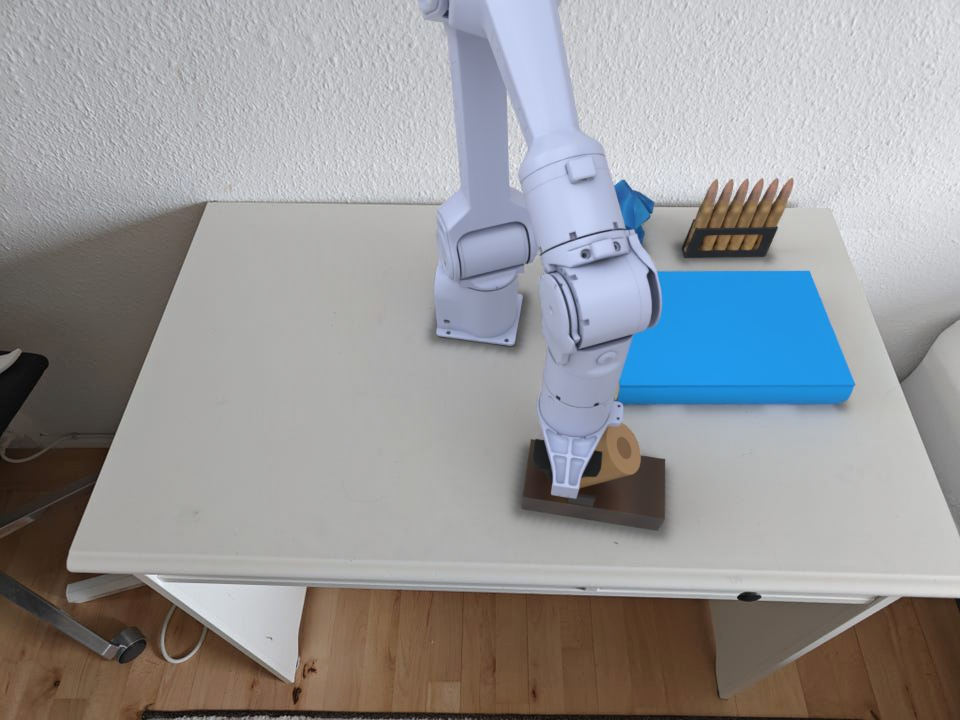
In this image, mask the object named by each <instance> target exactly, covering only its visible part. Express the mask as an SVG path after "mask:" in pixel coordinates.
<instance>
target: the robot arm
mask: <svg viewBox="0 0 960 720" xmlns="http://www.w3.org/2000/svg"><path fill="white" fill-rule="evenodd" d="M562 1H563V0H418V1H417V2H418V6H419V9H420V11H421V14H422V18H423V20H425V21H430V22H436V23H442V25H443V29H444V32H445V34H446V37H447V47H448V57H449V59H448V60H449V68H450V80H451V90H452V91H451V92H452V103H453V114H454V125H455V136H456V137H455V138H456V149H457V159H458V171H459V181H460V182H459V183H460V187H459V188H458V190H456V191H455V192H454V193H453V194H452V195H451V196H449V197H448V198H447V199H446V200H445V201H444V202H443V203H441V204H440V206H439V207H438V208H437V209H436V211H437V213H436V230H435V240H436V246H437V251H438V257H439V259H438V261H437V264H436V265H437V266H436V269H435V276H434V287H433V299H434V308H435V316H436V330H435V334H436V336H437V337H441V338H448V339H455V340H463V341H468V342H469V341H470V342H478V343H485V344H492V345H493V344H494V345H500V346H507V347H513V346H515V344H516V340H517V334H518V328H519V322H520V316H521V311H522V305H523V300H524V296H523V294H522V293H518V290H519V289H518V288H519V276H520V274H523V273H525V265H530V264H532V263H533V262H534V261H535V259H536V257H537V255H538V253H539V256H540V260H541V265H542V268H543V271H544V274H542V276H540V275H539V276H538V296H539V301H540V307H541V314H542V315H541V316H542V319H541V329H542V336H543V339H544V341H545V343H546V352H545V359H544V367H543V373H542V381H541V390H540V392H539V394H538V397H537V401H536V415H537V419H538V422H539V426H540V430H541V433H542V437H543V439H541V438H534V440H535V445H534V452H533V463H534V466H535V468H537V469H540V470H543V471H544V472H545V473H546V475H547V478H548V480H549V482H550V483H551V484H552V489H551V495H555V496H561V497H567V498H574V499H576V498H577V494H578V491H579V486H580V480H581V478H583V477H596V476H597V475H598V474H599V472H600V470H601V465H602V452H601V451H595V449H596V447H597V445H598V443H599V441H600V439H601V437H602V435H603V434H604V432H605V430H606V428H607V427H609V426H614V427H618V426H620V425H621V423H623V421H624V409H625V408H624V404H622V403H621V402H618V401H614V396H615V393H616V390H617V386H618V383H619V380H620V377H621V373H622V370H623V367H624V364H625V360H626V358H627V355H628V351H629V348H630V345H631V342H632V338H633V335H634V334H636V333H639V332H643V331H644V330H645V329H646V328H653V327H654V326H655V325H656V324H657V323H658V321H659V319H660V316H661V310H662V295H661V288H660V283H659V279H658V274H657V271H658V270H657V268H656V266H655V263H654V261H653V259H652V257H651V256H650V255H649V253H648V251H647V250H646V249H645V248H644V247H643V244H642V245H641V244H640V242H639V239H638V235H637V234H635V231H634V229H632V230H626V228H625V224H624V220H623V217H622V213H621V210H620V206H619V202H618V199H617V195H616V192H615V188H614V185H615V184H614V180H613V177H612V173H611V170H610V166H609V163H608V160H607V155H606V151H605V148H604V145H603V144H602V143H601V142H600V141H599V140H597V139H595V138H593V136H591V135H588V134H586V133H585V132H584V131H582V130H581V127H580V122H579V121H580V120H579V117H578V116H579V115H578V111H577V105H576V101H575V100H576V99H575V94H574V90H573V89H574V88H573V83H572V79H571V73H570V68H569V63H568V57H567V52H566V47H565V41H564V36H563V30H562V25H561V20H560V14H559V8H560V6H561V4H562ZM508 97H509V100H510V103H511V105H512V108H513V111H514V113H515V116H516V119H517V122H518V124H519V127H520V130H521V132H522V135H523V138H524V141H525V143H526V146H527V152H526V153H525V156H524V158H523V160H522V161H521V163H520V166H519V168H518V170H517V177H518V181H519V184H520V188H521V191H520V190H519V189H517V188H516V187H512V186H511V185H510V165H509V162H510V161H509V159H510V158H509V126H508V125H509V124H508V123H509V122H508Z"/></svg>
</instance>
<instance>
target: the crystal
mask: <svg viewBox="0 0 960 720" xmlns="http://www.w3.org/2000/svg"><path fill="white" fill-rule="evenodd" d="M614 188H615V192H616V195H617V199H618V202H619V206H620V210H621V213H622V217H623V220H624V224H625V228H626V230H632V229H634V231H635V234H637V235H638V239H639V242H640V244H641V245H642V246H643V242H644V237H645V233H646V232H645V230H644V228H643V224H644V223H645V222H647V221H648V220H649V219H650V218H651V215H652V214H653V213H654V207H655V201H654V200H652V199H650V198H649V197H648V196H647V195H645V194H644V193H642V192H641V191H638V190H634V189H633V188H632V187H631V185H629V183H628V182H627V181H626V179H621V180H619V181H618V182H617V183H615V184H614Z"/></svg>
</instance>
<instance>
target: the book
mask: <svg viewBox="0 0 960 720" xmlns="http://www.w3.org/2000/svg"><path fill="white" fill-rule="evenodd" d="M657 274H658V279H659V283H660V288H661V295H662V310H661V316H660V319H659V321H658V323H657V324H656V325H655V326H654V327H653V328H646V329H645V330H644V331H643V332H639V333H636V334H634V335H633V338H632V342H631V345H630V348H629V351H628V355H627V358H626V360H625V364H624V367H623V370H622V373H621V377H620V380H619V383H618V386H617V390H616V393H615V396H614V399H613V401H618V402H621V403H622V404H623V405H839V404H840V403H845V402H846V401H847V400H848V399H849V398H850V397H851V395H852V394H853V390H854V387H856V382H855V380H854V378H853V375H852V372H851V369H850V368H849V365H848V363H847V360H846V358H845V355H844V353H843V349H842V348H841V344H840V343H839V340H838V338H837V335H836V333H835V331H834V330H835V329H834V328H833V325H832V323H831V320H830V317H829V315H828V312H827V310H826V308H825V305H824V303H823V301H822V298H821V296H820V292H819V291H818V287H817V285H816V283H815V280H814V278H813V275H812V272H811V270H657Z"/></svg>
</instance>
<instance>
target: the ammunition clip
mask: <svg viewBox="0 0 960 720" xmlns="http://www.w3.org/2000/svg"><path fill="white" fill-rule="evenodd" d="M794 181H795V180H794V178H793V177H790V178H789V179H788V180H787V181H786V182H785V183H784V185H783V186H782V188H781V190H780V191H779V193H778V195H777V197H776V194H777V192H778V189H779V182H780V181H779V178H778V177H776V178H775V179H774V180H772V181H771V182H770V184H769V185H768V187H767V188H766V190H765V192H764V194H763V195H762V193H763V191H764V186H765V185H764V184H765V180H764V178H760V179H758V181H757V182H756V183H755V185H754V186H753V188H752V189H751V191H750V193H749V196H748V197H747V195H748V191H749V186H750V181H749V178H746V179H744V180H743V181H742V182H741V184H740V185H739V186H738V189H737V190H736V192H735V195H734V196H733V199H732V201H731V198H732V195H733V190H734V184H735V181H734V179H733V178H731V179H729V180H728V181H727V182H726V184H725V185H724V188H723V189H722V190H721V193H720V195H719V197H718V199H717V202H716V203H715V201H716V198H717V195H718V191H719V180H718V178H716V179H714V180H713V181H712V183H711V184H710V186H708V189H707V191H706V193H705V195H704V198H703V200H702V202H701V204H700V205H699V207H698V210H697V212H696V216H695V217H694V218H693V220H692V222H691V224H690V227H689V229H688V231H687V234H686V237H685V239H684V241H683V244H682V245H681V250H682V255H683V258H685V259H703V258H704V259H708V258H709V259H710V258H764V257H766V256H767V254H768V252H769V250H770V247H771V245H772V243H773V241H774V238H775V236H776V234H777V232H778V229H779V227H778V225H779V222H780V221H781V218H782V217H783V214H784V213H785V210H786V208H787V207H786V206H787V203H788V201H789V198H790V196H791V193H792V191H793V187H794ZM761 196H762V198H761ZM746 197H747V199H746ZM775 197H776V198H775ZM760 199H761V200H760ZM774 199H775V200H774ZM745 200H746V201H745Z"/></svg>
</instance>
